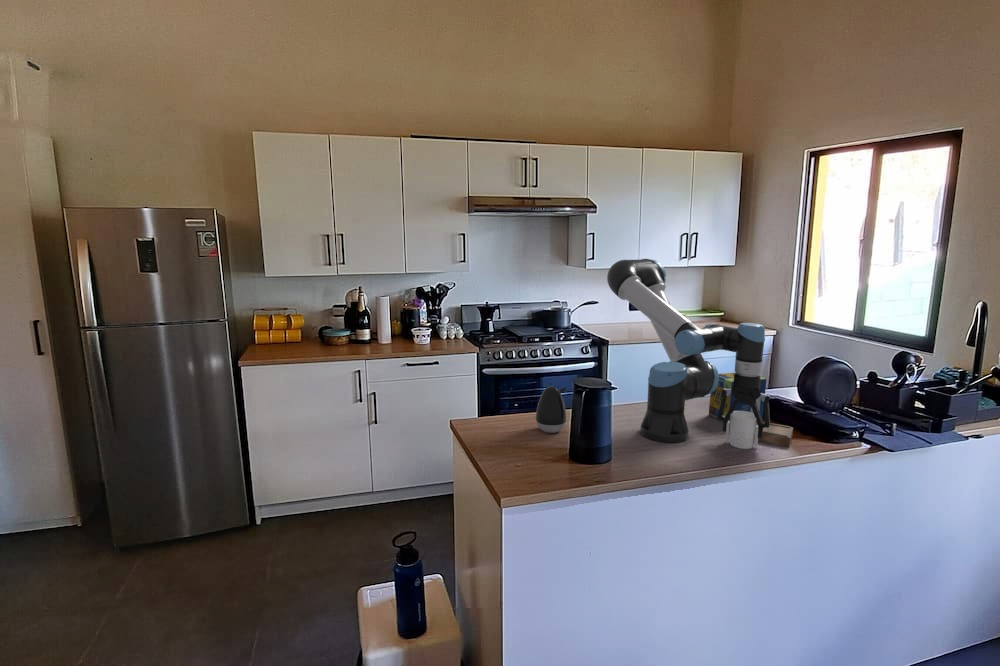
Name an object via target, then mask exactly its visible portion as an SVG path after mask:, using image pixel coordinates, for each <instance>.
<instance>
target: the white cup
mask: <svg viewBox="0 0 1000 666" xmlns="http://www.w3.org/2000/svg"><path fill="white" fill-rule="evenodd" d="M756 419H757V418H755V416H754V413H751V412H747V411H733V413H732V414H730V438H729V444H730V446H732V447H734V448H737V449H741V450H748V449H749V450H750V449H752V448H754V438H755V428H756V427H757V422H756Z"/></svg>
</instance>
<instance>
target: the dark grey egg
mask: <svg viewBox="0 0 1000 666" xmlns="http://www.w3.org/2000/svg"><path fill="white" fill-rule="evenodd" d="M566 390H567V388H566V387H562V388H560V389H558V388H557V387H555V386H552V385H550V386H547V387H545V388H544V390H543V391H542V393H541V396H540V398H539V400H538V403H537V407H536V411H535V421H536V424H537V427H538V428H539V429H540V430H541V431H542V432H544V433H548V434H554V433H558V432H560V431H562V430H563V428H564V427H565V426H566V425H565V424H566V422H567V412H566V406H565V401H564V399H563V396H562V393H564V392H566Z"/></svg>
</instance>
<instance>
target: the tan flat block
mask: <svg viewBox="0 0 1000 666" xmlns="http://www.w3.org/2000/svg"><path fill="white" fill-rule="evenodd" d="M763 423H765V421H763ZM757 426H758V425H757ZM793 433H794V427H792V426H790V425H784V424H778V423H772V422H770V426H769V427H768V428H763V435H762V437H761V438H758V442H761V443H766V444H767V443H768V444H771V445H777V446H782V447H787V448H790V445H791V442H792V440H793ZM754 439H755V438H754Z"/></svg>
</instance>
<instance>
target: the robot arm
mask: <svg viewBox="0 0 1000 666" xmlns="http://www.w3.org/2000/svg"><path fill="white" fill-rule="evenodd" d="M606 275H607V276H606V277H607V278H606V279H607V284H608V287H609V289H610V290H611V292H612V293H613V294H614V295H616V296H617V298H619V299H620V300H622V301H628V302H629V303H630V304H631V305H632V306H634V307H635V309H637V310H638V311H639V312H641V313H642V314H643V315H644V316H646V317H647V318H648V319H649V320H650V322H651V325H652V326H653V328H654V330H655V332H656V334H657V337H658V338H659V341H660V342H661V344H662V346H663V348H664V350H665V353H666V355H667V357H668V359H669V361H668V362H666V361H663V362H662V361H661V362H659V363H655V364H653V365H652V366H651V367H650V369H649V372H648V373H649V374H648V379H647V380H648V382H647V383H648V384H647V387H648V388H647V406H646V407H647V408H646V412H645V414H644V417H643V419H642V421H641V424H640V431H639V432H640V434H641V435H642V436H643V437H644V438H647V439H649V440H652V441H656V442H662V443H663V442H664V443H679V442H684V441H687V439H688V438H689V428H688V427H689V426H688V424H687V420H686V416H685V407H686V406H685V404H686V401H690V400H694V399H697V398H704V397H706V396H710V394H711V393H712V392H714V391H715V389H716V388H717V385H718V382H719V374H720V373H719V371H718V369H717V367H716V366H715V364H713V363H712V362H710V361H707V360H705V359H704V356H703V355H702V354H703V353H707V352H708V353H709V352H716V351H728V352H732V353H735V360H734V372H736V373H735V374H734V382H733V387H732V389H726V388H724V389H723V390H722V401H721V405H720V409H719V413H718V417H717V418H718V419H720V420H722V421H723V422H722V421H721V422H722V433H723V432H724V433H725V441H724V442H725V444H728V443H730V421H728V419H729V418H730V414H732V413H733V411H734V409H735V408H736V406H737V404H738V402H739V403H746V404H750V405H751V408H752V410H753V413H754V416H755V418H757V419H756V422H757V425H758V426H757V427H756V428H755V439H754V444H753V449H756V450H757V447H758V443H759V441H758V438H761V437H762V435H763V428H768V427H769V426H770V423H771V418H770V417H771V415H770V403H769V402H770V399H771V394H769V393H768V394H767V393H765V394H763V393H761V391H760V381H761V377H762V371H763V355H764V346H765V341H766V337H765V336H766V328H765V326H764V325H763V324H760V323H755V322H741V323H739V324H738V326H737V327H733V326H726V325H720V324H718V323H717V324H714V323H713V324H712V323H708V324H706V325H704V327H702V328H701V327H698V326H697V325H696V324H694V323H693V322H691V321H690V320H689V319H688V318H686V317H685V316H684V315H683V314H681V313H680V312H679V311H678V310H676V309H675V308H674V307H672V305H671V303H670V301H669V299H668V297H667V295H666V293H665V290H666V287H667V286H666V279H667V278H666V276H667V272H666V270H665V267H664V266H663V264H662V263H660V262H659V261H658V260H655V259H649V258H640V259H620V260H618V261H616V262H614V263H613V264H612V265H611V267H610V268H609V270H608V272H607V274H606ZM731 392H732V394H733V396H734V397H735V401H734V402H733V404H732V406H731V408H730V409H729V411H728V413H727V414H726V416H723V413H724V410H725V406H726V402H727V398H728V396H729V395H730V393H731ZM759 397H761V398H762V401H764V403H763V406H764V409H763V418H764V421H763V419H762V418H761V415H760V412H759V410H758V407H757V403H756V400H757V399H758V398H759ZM718 419H717V420H718ZM720 420H719V421H720ZM763 422H765V423H763Z"/></svg>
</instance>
